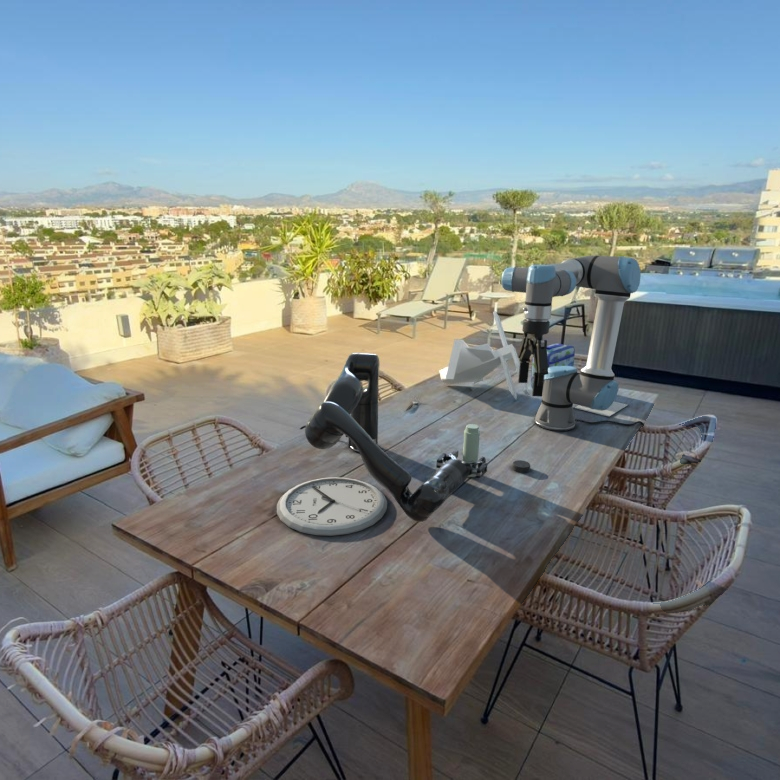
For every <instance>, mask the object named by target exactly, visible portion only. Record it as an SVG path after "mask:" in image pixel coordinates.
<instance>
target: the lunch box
mask: <svg viewBox="0 0 780 780" xmlns="http://www.w3.org/2000/svg"><path fill="white" fill-rule="evenodd" d="M575 352H576V351H575V346H573V345H568V344H562V343H553V344H550V345H547V362H548V368H550V367H554V366H573V367H574V363H575ZM530 372H531V374H530V387H531V389H533V383H534V373H535V372H536V371H535V364H534V357H532V362H531V371H530Z"/></svg>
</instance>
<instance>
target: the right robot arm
mask: <svg viewBox="0 0 780 780" xmlns="http://www.w3.org/2000/svg"><path fill="white" fill-rule="evenodd" d="M641 274H642V273H641V267H640V264H639V261H638V260H637V259H636V258H633V257H627V256H614V255H595V254H594V255H593V254H592V255H585V256H579V257H573V258H568V259H565V260H563V261H562V262H557V263H550V264H531V265H530V266H525V267H517V266H513V267H512V266H511V267H507V268H505V269H504V270H503V272H502V274H501V280H500V282H501V287H502V289H503V290H505V291H508V292H512V293H523V294H524V293H525V300H524V307H522V311H523V318H524V319H523V320H522V329H521V330H522V333H523V335H522V340H521V344H520V347H519V351H518V353H517V355H518V359H519V362H520V369H519V376H518V380H517V383H518V384H521V383H526V384H528V380H529V369H530V362H531V356H533V357H534V364H535V371H536V372H535V373H534V383H533V388H532V394H531V396H532V397H541V402H540V405H539V407H538V410H537V411H536V413H535V415H534V424H535V425H536V426H537V427H539V428H542V429H544V430H549V431H556V432H567V431H572V430H574V429H575V428H576V422H579V423H585V424H588V425H597V424H601V423H610V424H615V425H619V426H624V427H625V426H626V427H632V426H636V425H638V424H640V425H643V426H644V425H645V424H644V422H642V421H641V420H637V421H635V422H633V423H623V422H619V421H615V420H598V421H587V420H584V419H583V420H582V419H577V418H575V417H576V416H575V413H574V407H573V405H576V406H578V405H581V406H584V407H588V408H591V409H596V410H601V411H603V410H606V409H608V408H609V407H610V406H611V405H612V403H613V402H615V400H616V398H617V396H618V392H619V389H620V388H619V385H620V384H619V382H618V381H617V380H615V373H614V372H613V370H612V366H613V362H614V356H615V351H616V346H617V341H618V336H619V331H620V327H621V326H620V325H621V321H622V315H623V312H624V311H623V310H624V305H625V303H626V302H627V301H628V300H630V299H631V294H635V293H636V292H637V291H638V290H639V287H640V283H641V277H642V276H641ZM577 287H579V288H584V289H591V290H594V296H595V298H597V304H596V309H595V314H594V320H593V325H592V331H591V337H590V342H589V347H588V351H587V352H588V353H587V358H586V364H585V366H584V367H582V368H581V369H580V371H579V372H578V368H577V367H576V366H574V365H573V366H554V367H550V368H548V362H547V346H548V340H547V339H543V337H544V335H548V334H549V332H550V323H551V322H550V319H551V318H552V308H553V298H556V297H564V296H567V295H569V294H571V293H572V292H573V291H574V290H575V289H576V288H577ZM533 357H532V358H533Z"/></svg>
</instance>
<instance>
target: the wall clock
mask: <svg viewBox="0 0 780 780" xmlns="http://www.w3.org/2000/svg"><path fill="white" fill-rule="evenodd" d="M387 509H388V500H387V498H386V496H385V494H384V493H383V492H382V491H381V490H380V489H379V488H377V487H376V486H374V485H372V484H371V483H369V482H365V481H362V480H359V479H355V478H349V477H338V476H337V477H335V476H333V477H332V476H331V477H322V478H317V479H312V480H307V481H305V482H302V483H299V484H297V485H295V486H293V487H292V488H290V489H288V490H287V491H286V492H285V493H284V494H283V495H281V496H280V498H279V499H278V502H277V503H276V515H277V517H278V518H279V520H280V521H281V522H282V523H283V524H285V525H286V526H287V527H288V528H290V529H293V530H295V531H297V532H299V533H303V534H308V535H312V536H327V537H328V536H329V537H331V536H332V537H333V536H342V535H350V534H352V533H356V532H361V531H363V530H366V529H368V528H369V527H372V526H373V525H375V524H376V523H378V522H379V521H380V520H381V519H382V518H383V517H384V516H385V514H386V512H387Z"/></svg>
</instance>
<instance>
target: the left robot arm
mask: <svg viewBox="0 0 780 780" xmlns="http://www.w3.org/2000/svg"><path fill="white" fill-rule="evenodd" d="M380 362H381V361H380V358H379V356H378V354H376V353H364V352H363V353H361V352H353V353H351V354H349V355H348V357H347V358H346V360H345V363H344V364H343V367H342V369H341V371H340V373H339V375H338V376H337V377H336V379H335V381H334V382H333V384H332V385H331V386H330V388H329V390H328V391H327V394H326V396H325V398H324V400H323V402H322V403H320V405H319V406H318V407H317V408H316V410H315V411H314V413H313V414H312V415H311V417H310V418H309V419H308V421H307V423H306V425H303V426H301V427H299V430H303V429H304V435H305V438H306V440H307V442H308V443H309V444H310V445H311V446H312V447H313V448H315V449H318V450H328V449H331V448H333V447H334V446H335V445H336V444H337V443H338V442H339V440H341V438H342V437H343V436H344V435H345V438H348V449H351V450H352V451H353V452H356V453H358V454H359V455H360V457H361V460H362V463H363V464H364V467H365V469H366V471H367V472H368V474H369V476H370V477H371V478H372V480H374V481H375V482H376V483H377V484H378V485H380V486H381V487H383V488H384V490H386V491H388V493H389V494H391V496H392V497H393V498H394V500H395V502H396V503H397V504H398V506H399V507H400V509H402V511H403V513H404V514H405V515H406V516H407V517H408V518H409V519H411V520H412V521H415V522H418V523H422V522H425V521H427V520H428V519H429V518H430V517H431V516H432V515H433V514H434V513H435V512H436V511H437V510H438V509H440V508H441V506H442V505H443V504H444V503H445V502H446V500H447V499H448V498H449V497H450V496H451V495H452V494H453V493H454V492H455V491H457V490H458V489H459V488H460V487H461V485H462V484H463V483H464V482H465V481H466V480H467V478H469V477H468V476H469V475H471V474H474V475H476V476H475V478H476V479H481V478H482V477H483V476H484V475H486V473H487V472H488V466H489V465H488V463H487V459H486V457H485V456H481V457H480V458H478V461H474V460H472V461H462V459H457V458H459V450H457V449H456V450H453V451H452V452H450V453H448V454H447V453H446V452H442V454H440V455H439V457H437V458H436V464H435V465H436V466H435V467H436V469H437V470H436V471H435V472H434V474H432V475H431V476H430V477H429V478H428V479H427V480H426V481H425V482H424V483H422V484H421V485H420V486H418V488H417V489H416V490H415V491H414V492H412V491H411V489H410V488H409V485H410V483H411V481H412V475H411V473H410V472H409V471H408V470H406V468H405V467H403V466H402V465H401V464H399V462H397V461H395V459H393V457H391V456H390V455H389V454H388V453H386V451H384V450H383V449H382V448H381V447H380V446H379V444H378V443H379V383H380V382H379V381H380V380H379V379H380V366H381V364H380ZM362 382H367V385H365V386H363V383H362ZM470 464H472V467H471V465H470ZM476 465H477V467H476Z"/></svg>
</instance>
